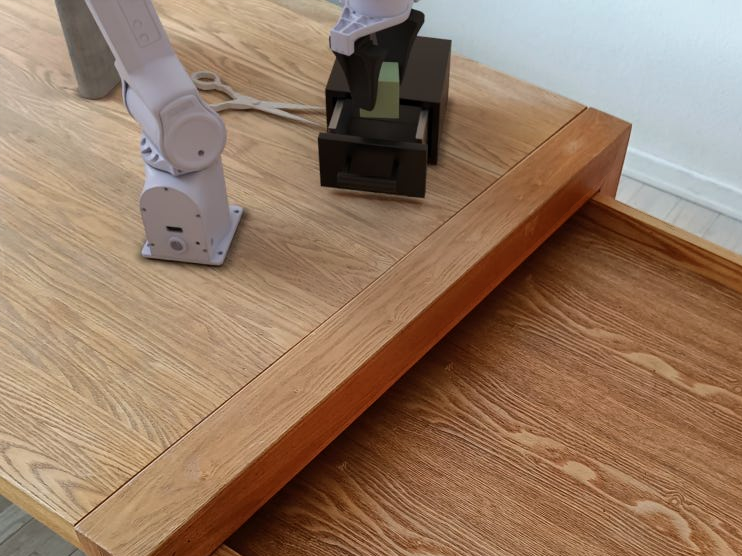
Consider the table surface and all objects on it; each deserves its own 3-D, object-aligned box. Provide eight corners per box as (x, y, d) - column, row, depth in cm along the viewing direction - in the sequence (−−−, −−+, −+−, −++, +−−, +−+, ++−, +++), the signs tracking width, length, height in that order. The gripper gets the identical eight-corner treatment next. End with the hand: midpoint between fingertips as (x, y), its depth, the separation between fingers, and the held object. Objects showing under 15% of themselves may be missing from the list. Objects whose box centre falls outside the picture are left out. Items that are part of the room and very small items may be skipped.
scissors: (183, 66, 109) (342, 92, 108) (185, 73, 109) (342, 98, 109) (149, 110, 102) (318, 138, 101) (151, 116, 103) (318, 144, 102)
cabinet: (436, 165, 102) (440, 102, 96) (328, 152, 102) (324, 89, 96) (448, 100, 111) (451, 39, 105) (348, 88, 111) (346, 26, 105)
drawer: (420, 222, 94) (422, 174, 89) (313, 210, 93) (309, 160, 89) (436, 132, 105) (439, 85, 100) (340, 121, 104) (338, 73, 100)
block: (397, 98, 95) (398, 62, 92) (398, 118, 92) (399, 81, 89) (360, 97, 94) (359, 60, 91) (360, 117, 92) (359, 80, 89)
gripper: (378, -82, 87) (379, 55, 97) (298, -31, 78) (308, 113, 89) (442, -63, 85) (435, 74, 96) (367, -9, 77) (369, 135, 87)
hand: (378, 94), depth 92 cm, fingers closed on block, 5 cm apart
